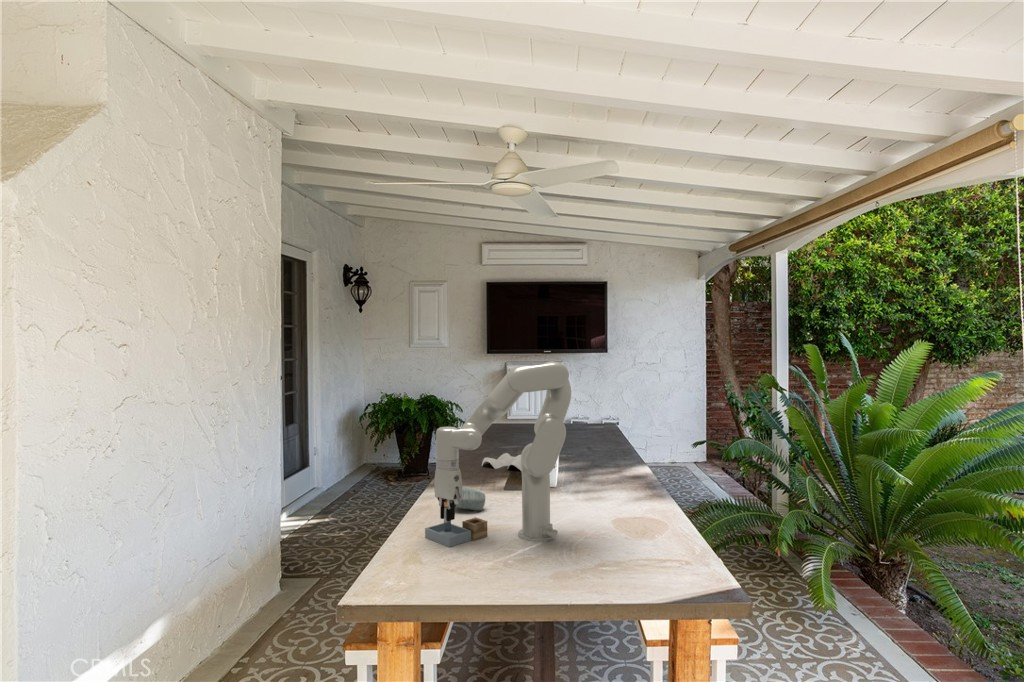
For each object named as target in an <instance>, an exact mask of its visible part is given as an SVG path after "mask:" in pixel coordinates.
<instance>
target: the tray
mask: <svg viewBox="0 0 1024 682" xmlns="http://www.w3.org/2000/svg"><path fill="white" fill-rule="evenodd" d="M424 538H425V539H428V540H431V541H433V542H436V543H438V544H440V545H443V546H446V547H448V548H451V547H455V546H458V545H460V544H464V543H467V542H469V541H472V539H471V530H468V529H465V528H462V526H460V525H457V524H454V523H451V532H444V522H442V523H438V524H435V525H432V526H428V527H425V528H424Z"/></svg>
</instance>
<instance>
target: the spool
mask: <svg viewBox="0 0 1024 682" xmlns="http://www.w3.org/2000/svg"><path fill="white" fill-rule="evenodd" d="M460 500H461V503H459V504H457V505H456V508H455V509H463V510H471V511H478V512H479V511H482V510H483V509H484V507H485V504H486V493H485V492H484V491H483V490H481V489H478V488H473V487H466V486H465V487H463V486H462V498H460ZM451 502H452V501H451Z"/></svg>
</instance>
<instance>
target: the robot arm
mask: <svg viewBox="0 0 1024 682" xmlns="http://www.w3.org/2000/svg"><path fill="white" fill-rule="evenodd" d="M569 372H570V371H569V370H568V368H567V367H566V366H565V365H564V364H563V363H561V362H557V361H552V360H551V361H547V362H544V363H543V364H538V365H529V366H523V365H515V366H513V367H512V368H511V369H510V370H508V371H507V373H506V374H505V375H504V377H502V379H501V380H500V381H499V383H498V384H497V385H496V386H495V387H494V389H492V391H491V392H490V393H489V395H488V396H486V398H485V399H484V400H483V401H482V402H481V404H480V405H479V406H478V407H477V408H476V409H475V411H474V412H473V413H472V414H471V415H470V416H469V418H468V419H467V420H466V421H465V422H464V423H463V425H462V426H461V428H457V427H455V426H440V427H439V428H437V429H436V433H435V459H436V460H435V471H434V482H433V483H434V484H433V485H434V487H433V489H434V497H435V498H436V499H437V500H438V505H439V507H440V511H439V512H440V513H439V514H440V515H439V517H440V518H439V519H441V520H444V501H445V500H447V508H448V509H446V521H450V520H451V521H454V520H455V518H456V516H455V515H456V511H455V509H457V508H456V505H457V504H459V503H461V500H460V498H462V487H463V481H462V480H463V479H462V472H461V469H460V466H459V462H460V460H459V456H460V454H459V453H460V452H459V451H460V450H464V451H473V450H476V449H478V448H479V447H480V446H481V445H482V438H483V437H482V436H483V435H484V434H485V433H486V431H487V430H488V429H489V428H490V426H492V424H493V423H494V422H495V421H497V420H498V419H499V418H502V417H504V416H505V415H506V414H507V413H508V412H509V410H511V408H512V407H513V406H514V405H515V404H516V402H517V401H518V400H519V398H520V397H521V396H522V395H523V394H524V393H533V392H540V391H546V394H545V399H544V401H543V403H542V406H541V409H540V412H539V413H538V416H537V418H536V421H535V423H534V426H533V428H534V429H533V431H534V434H535V436H534V439H533V441H532V442H531V443H528V444H527V445H525V446H524V448H523V449H522V451H521V470H522V471H521V482H522V483H521V495H522V496H521V497H522V498H521V500H522V501H521V503H522V504H521V505H522V507H521V508H522V511H521V512H522V513H521V515H522V521H521V522H522V523H521V525H522V527H521V529H519V531H518V532H517V536H518V538H520V539H521V540H525V541H528V542H543V543H545V542H548V541H549V542H550V541H551V540H553V539H555V538H556V536H557V535H558V534H559V531H558V530H557V529H553V528H554V527H553V524H552V523H551V479H550V477H551V475H550V474H551V473H552V471H554V470H553V469H554V468H555V465H556V464H557V461H558V458H559V457H560V453H561V451H562V449H563V445H564V443H565V442H566V441H565V440H566V436H567V428H566V424H565V423H564V421H565V418H566V416H567V413H568V411H569V410H568V409H569V407H570V404H571V400H572V388H571V383H570V378H569V377H570V374H569ZM451 501H452V502H451Z"/></svg>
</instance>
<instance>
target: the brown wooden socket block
mask: <svg viewBox="0 0 1024 682" xmlns="http://www.w3.org/2000/svg"><path fill="white" fill-rule="evenodd" d="M461 524H462V526H461V527H462V528H465V529H468V530H471V541H472V540H473V541H476V540H480V539H482V538H486V537H488V520H485V519H482V518H478V517H471V518H469V519H466V520H462V522H461Z"/></svg>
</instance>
